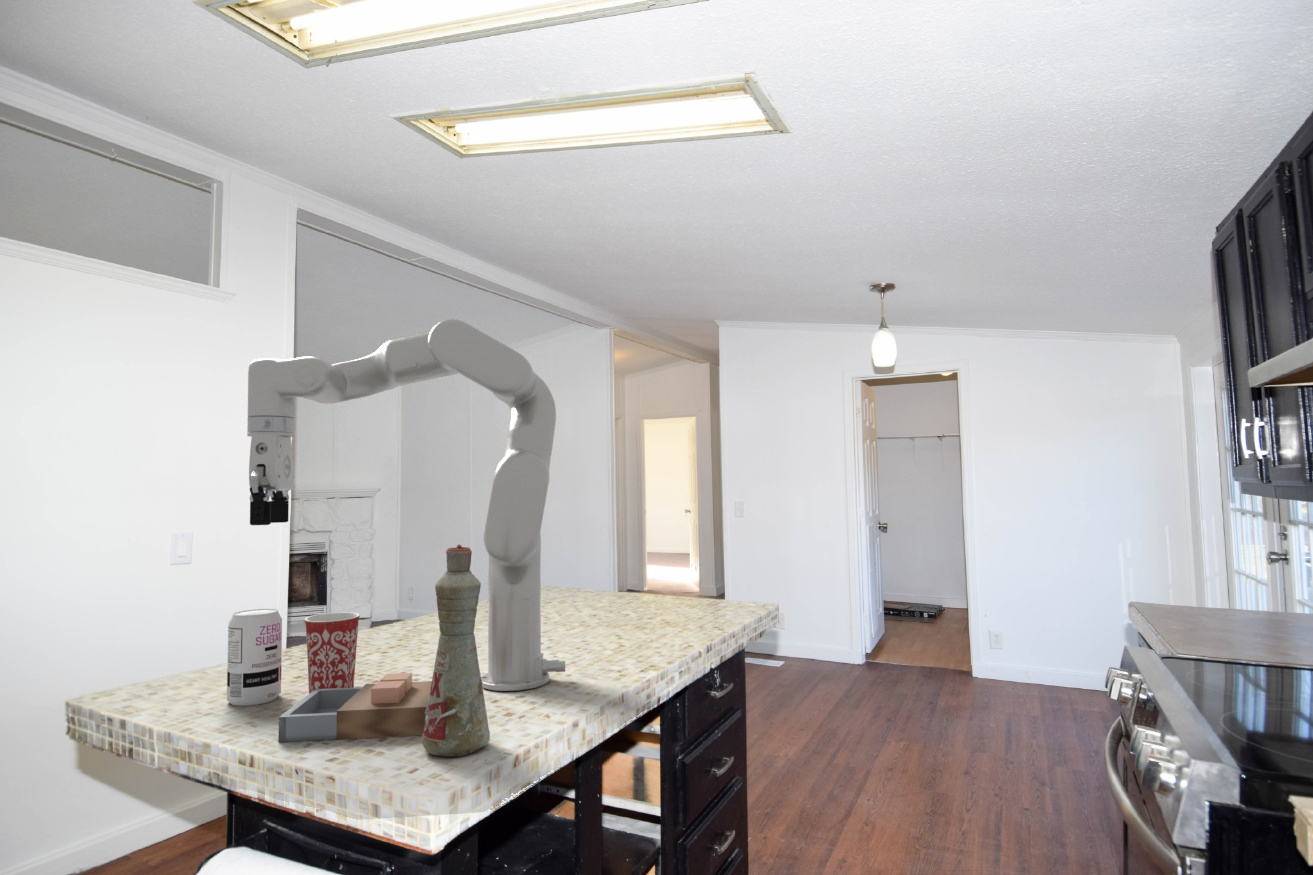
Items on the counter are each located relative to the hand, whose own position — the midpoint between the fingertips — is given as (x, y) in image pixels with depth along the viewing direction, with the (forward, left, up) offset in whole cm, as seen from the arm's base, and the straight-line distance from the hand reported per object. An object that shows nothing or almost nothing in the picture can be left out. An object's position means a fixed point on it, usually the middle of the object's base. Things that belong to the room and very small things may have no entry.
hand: (269, 523), depth 134 cm
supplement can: (+1, +3, -30) cm, 30 cm away
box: (-16, +19, -30) cm, 39 cm away
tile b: (-26, +16, -26) cm, 40 cm away
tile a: (-26, +21, -26) cm, 42 cm away
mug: (-11, -1, -30) cm, 32 cm away
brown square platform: (-26, +19, -30) cm, 44 cm away
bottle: (-38, +33, -30) cm, 59 cm away
